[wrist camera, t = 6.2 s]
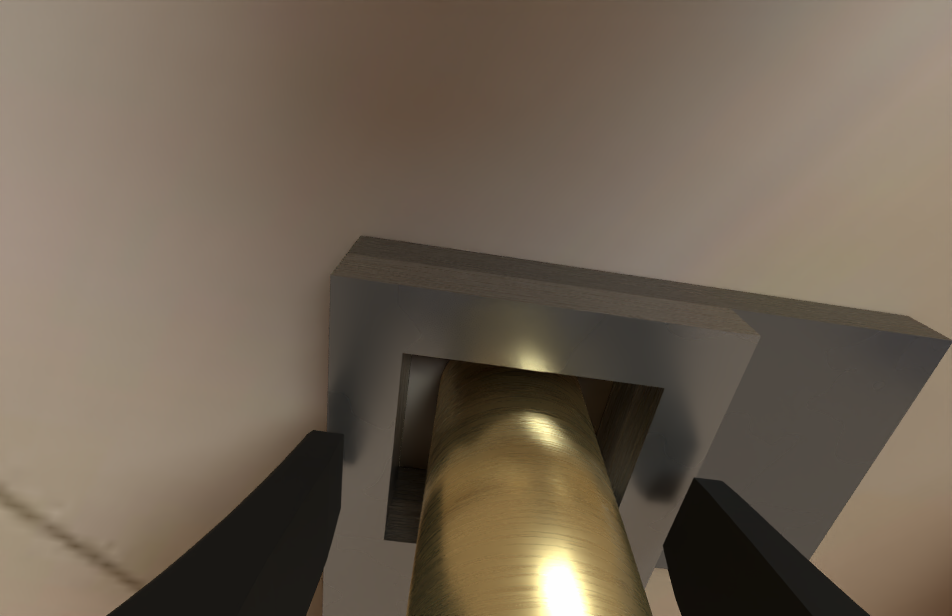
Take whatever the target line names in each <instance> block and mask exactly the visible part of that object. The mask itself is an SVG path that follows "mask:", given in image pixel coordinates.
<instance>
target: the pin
mask: <svg viewBox="0 0 952 616" xmlns="http://www.w3.org/2000/svg"><path fill="white" fill-rule="evenodd" d="M406 616H652V613H651V609H650V606H649V603H648V600H647V597H646V594H645V590H644V587H643V584H642V581H641V578H640V575H639V571H638V568H637V565H636V562H635V559H634V556H633V553H632V549H631V546H630V543H629V540H628V537H627V534H626V530H625V527H624V524H623V521H622V518H621V515H620V512H619V508H618V505H617V502H616V499H615V496H614V493H613V489H612V486H611V483H610V480H609V477H608V474H607V470H606V467H605V464H604V461H603V458H602V455H601V452H600V448H599V445H598V442H597V439H596V436H595V433H594V429H593V426H592V423H591V420H590V417H589V414H588V410H587V407H586V404H585V401H584V398H583V395H582V392H581V388H580V385H579V382H578V379H577V376H571V375H564V374H556V373H549V372H541V371H534V370H526V369H519V368H512V367H504V366H497V365H489V364H482V363H474V362H467V361H459V360H452V359H450V361H449V362H448V364H447V365H446V367H445V369H444V371H443V374H442V376H441V381H440V386H439V393H438V399H437V406H436V413H435V420H434V427H433V434H432V441H431V447H430V454H429V461H428V468H427V475H426V482H425V489H424V495H423V502H422V509H421V516H420V523H419V530H418V537H417V543H416V550H415V557H414V564H413V571H412V578H411V584H410V591H409V598H408V605H407V612H406Z"/></svg>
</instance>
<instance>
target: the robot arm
mask: <svg viewBox="0 0 952 616" xmlns="http://www.w3.org/2000/svg"><path fill="white" fill-rule="evenodd" d="M343 450H344V434H340V433H332V432H324V431H316V430H313V431H311V432H310V433H308V434H307V435H306V436H305V437H304V439H303V440H302V441H301V442H300V443H299V444H298V445H297V446H296V447H295V449H294V450H293V451H292V452H291V453H290V454H289V455H288V456H287V457H286V458H285V459H284V460H283V461H282V462H281V464H280V465H279V466H278V467H277V468H276V469H275V470H274V471H273V472H272V473H271V474H270V475H269V476H268V477H267V478H266V479H265V480H264V481H263V482H262V483H261V484H260V485H259V486H258V487H257V488H256V489H255V490H254V491H253V492H252V493H251V494H250V495H249V496H248V497H246V498H245V499H244V500H243V501H242V502H241V503H240V504H239V505H238V506H237V507H236V508H235V509H234V510H233V511H232V512H231V513H230V514H229V515H228V516H227V517H226V518H224V519H223V520H222V521H221V522H220V523H219V524H218V525H217V526H215V527H214V528H213V529H212V530H211V531H210V532H209V533H207V534H206V535H205V536H204V537H203V538H202V539H201V540H200V541H198V542H197V543H196V544H195V545H194V546H193V547H192V548H191V549H189V550H188V551H187V552H186V553H185V554H184V555H182V556H181V557H180V558H179V559H178V560H176V561H175V562H174V563H173V564H172V565H170V566H169V567H168V568H167V569H166V570H164V571H163V572H162V573H161V574H159V575H158V576H157V577H156V578H155V579H153V580H152V581H151V582H150V583H148V584H147V585H146V586H144V587H143V588H142V589H141V590H139V591H138V592H137V593H135V594H134V595H133V596H132V597H130V598H129V599H128V600H126V601H125V602H124V603H123V604H121V605H120V606H119V607H117V608H116V609H115V610H113V611H112V612H111V613H109V614H108V615H106V616H306V614H307V611H308V609H309V606H310V603H311V601H312V598H313V596H314V593H315V590H316V588H317V585H318V582H319V580H320V577H321V575H322V572H323V569H324V567H325V564H326V561H327V558H328V555H329V551H330V547H331V544H332V540H333V537H334V533H335V529H336V525H337V521H338V518H339V514H340V510H341V496H342V473H343ZM663 549H664V554H665V558H666V563H667V567H668V571H669V576H670V579H671V583H672V587H673V591H674V595H675V598H676V601H677V604H678V607H679V610H680V612H681V615H682V616H870V615H869V614H868V613H867V612H866V611H864V610H863V609H862V608H861V607H860V606H859V605H857V604H856V603H855V602H854V601H853V600H852V599H851V598H850V597H848V596H847V595H846V594H845V593H844V592H843V591H842V590H841V589H840V588H838V587H837V586H836V585H835V584H834V583H833V582H832V581H831V580H830V579H828V578H827V577H826V576H825V575H824V574H823V573H822V572H821V571H820V570H819V569H817V568H816V567H815V566H814V565H813V564H812V563H811V562H810V561H809V560H808V559H807V558H806V557H805V556H803V555H802V554H801V553H800V552H799V551H798V550H797V549H796V548H795V547H794V546H793V545H792V544H791V543H790V542H788V541H787V540H786V539H785V538H784V537H783V536H782V535H781V534H780V533H779V532H778V531H777V530H776V529H775V528H774V527H773V526H771V525H770V524H769V523H768V522H767V521H766V520H765V519H764V518H763V517H762V516H761V515H760V514H759V513H758V512H757V511H756V510H754V509H753V508H752V507H751V506H750V505H749V504H748V503H747V502H746V501H745V500H744V499H743V498H741V497H740V496H739V495H738V494H737V493H736V492H735V491H734V490H732V489H731V488H730V487H729V486H728V485H727V484H725V483H724V482H723V481H720V480H712V479H704V478H696V477H694V478H693V480H692V482H691V484H690V487H689V489H688V491H687V493H686V495H685V497H684V500H683V502H682V504H681V506H680V508H679V511H678V513H677V515H676V517H675V519H674V522H673V524H672V526H671V528H670V530H669V532H668V535H667V537H666V539H665V541H664V543H663Z"/></svg>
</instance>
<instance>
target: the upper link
mask: <svg viewBox="0 0 952 616" xmlns="http://www.w3.org/2000/svg"><path fill="white" fill-rule="evenodd" d="M760 337H761V336H760V335H759V334H758V333H757V332H756V331H755V330H754V329H753V328H751V327H750V326H749V325H748V324H747V323H746V322H745V321H744V320H743V319H742V318H741V317H739V316H738V315H737V314H736V313H735V312H734V311H733V310H732V309H730V308H723V307H716V306H709V305H702V304H695V303H688V302H681V301H674V300H668V299H661V298H654V297H647V296H640V295H633V294H626V293H619V292H612V291H605V290H599V289H592V288H585V287H578V286H571V285H564V284H557V283H550V282H543V281H536V280H530V279H523V278H516V277H509V276H502V275H495V274H488V273H481V272H474V271H467V270H461V269H454V268H447V267H440V266H433V265H426V264H419V263H412V262H405V261H398V260H392V259H385V258H378V257H371V256H364V255H357V254H350V253H347V254H346V256H345V257H344V258H343V260H342V261H341V262H340V263H339V265H338V266H337V267H336V269H335V270H334V271H333V273H332V274H331V280H330V322H329V364H328V405H327V432H332V433H340V434H344V450H343V473H342V496H341V510H340V514H339V518H338V521H337V525H336V529H335V533H334V537H333V540H332V544H331V547H330V551H329V555H328V558H327V561H326V564H325V567H324V572H323V614H322V616H406V612H407V605H408V598H409V591H410V584H411V578H412V571H413V564H414V557H415V550H416V543H417V537H418V530H419V523H420V516H421V509H422V504H420V503H411V502H403V501H394V500H392V498H393V488H394V479H395V469H396V459H397V450H398V440H399V431H400V421H401V412H402V402H403V393H404V383H405V374H406V364H407V355H408V354H415V355H422V356H430V357H437V358H444V359H452V360H459V361H467V362H474V363H482V364H489V365H497V366H504V367H512V368H519V369H526V370H534V371H541V372H549V373H556V374H564V375H571V376H579V377H586V378H594V379H601V380H608V381H616V382H623V383H631V384H636V387H635V389H634V392H633V395H632V398H631V401H630V404H629V407H628V409H627V412H626V415H625V418H624V421H623V424H622V426H621V429H620V432H619V435H618V438H617V441H616V444H615V446H614V449H613V452H612V455H611V458H610V461H609V463H608V466H607V469H606V470H607V474H608V477H609V480H610V483H611V486H612V489H613V493H614V496H615V499H616V502H617V505H618V508H619V512H620V515H621V518H622V521H623V524H624V527H625V530H626V534H627V537H628V540H629V543H630V546H631V549H632V553H633V556H634V559H635V562H636V565H637V568H638V571H639V575H640V578H641V581H642V584H643V587H644V589H645V587H646V585H647V582H648V580H649V578H650V576H651V574H652V572H653V569H654V567H655V565H656V563H657V561H658V559H659V556H660V554H661V552H662V550H663V543H664V541H665V539H666V537H667V535H668V532H669V530H670V528H671V526H672V524H673V522H674V519H675V517H676V515H677V513H678V511H679V508H680V506H681V504H682V502H683V500H684V497H685V495H686V493H687V491H688V489H689V487H690V484H691V482H692V480H693V478H694V477H696V476H697V474H698V472H699V470H700V467H701V465H702V463H703V461H704V459H705V457H706V454H707V452H708V450H709V448H710V446H711V444H712V441H713V439H714V437H715V435H716V433H717V431H718V428H719V426H720V424H721V422H722V420H723V418H724V415H725V413H726V411H727V409H728V407H729V404H730V402H731V400H732V398H733V396H734V394H735V391H736V389H737V387H738V385H739V383H740V381H741V378H742V376H743V374H744V372H745V370H746V368H747V365H748V363H749V361H750V359H751V357H752V355H753V352H754V350H755V348H756V346H757V344H758V342H759V339H760Z"/></svg>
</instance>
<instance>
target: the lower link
mask: <svg viewBox="0 0 952 616" xmlns="http://www.w3.org/2000/svg"><path fill="white" fill-rule="evenodd" d="M348 253H350V254H357V255H364V256H371V257H378V258H385V259H392V260H398V261H405V262H412V263H419V264H426V265H433V266H440V267H447V268H454V269H461V270H467V271H474V272H481V273H488V274H495V275H502V276H509V277H516V278H523V279H530V280H536V281H543V282H550V283H557V284H564V285H571V286H578V287H585V288H592V289H599V290H605V291H612V292H619V293H626V294H633V295H640V296H647V297H654V298H661V299H668V300H674V301H681V302H688V303H695V304H702V305H709V306H716V307H723V308H730V309H732V310H733V311H734V312H735V313H736V314H737V315H738V316H739V317H741V318H742V319H743V320H744V321H745V322H746V323H747V324H748V325H749V326H750V327H751V328H753V329H754V330H755V331H756V332H757V333H758V334H759V335H760V336H761V337H760V339H759V342H758V344H757V346H756V348H755V350H754V352H753V355H752V357H751V359H750V361H749V363H748V365H747V368H746V370H745V372H744V374H743V376H742V378H741V381H740V383H739V385H738V387H737V389H736V391H735V394H734V396H733V398H732V400H731V402H730V404H729V407H728V409H727V411H726V413H725V415H724V418H723V420H722V422H721V424H720V426H719V428H718V431H717V433H716V435H715V437H714V439H713V441H712V444H711V446H710V448H709V450H708V452H707V454H706V457H705V459H704V461H703V463H702V465H701V467H700V470H699V472H698V474H697V476H696V478H704V479H712V480H720V481H723V482H724V483H725V484H727V485H728V486H729V487H730V488H731V489H732V490H734V491H735V492H736V493H737V494H738V495H739V496H740V497H741V498H743V499H744V500H745V501H746V502H747V503H748V504H749V505H750V506H751V507H752V508H753V509H754V510H756V511H757V512H758V513H759V514H760V515H761V516H762V517H763V518H764V519H765V520H766V521H767V522H768V523H769V524H770V525H771V526H773V527H774V528H775V529H776V530H777V531H778V532H779V533H780V534H781V535H782V536H783V537H784V538H785V539H786V540H787V541H788V542H790V543H791V544H792V545H793V546H794V547H795V548H796V549H797V550H798V551H799V552H800V553H801V554H802V555H803V556H805V557H806V558H807V559H808V560H809V559H810V558H811V556H812V555H813V553H814V552H815V550H816V549H817V547H818V546H819V544H820V543H821V541H822V540H823V538H824V537H825V535H826V534H827V532H828V531H829V529H830V528H831V526H832V525H833V523H834V521H835V520H836V518H837V517H838V515H839V514H840V512H841V511H842V509H843V508H844V506H845V505H846V503H847V502H848V500H849V499H850V497H851V496H852V494H853V493H854V491H855V490H856V488H857V487H858V485H859V484H860V482H861V480H862V479H863V477H864V476H865V474H866V473H867V471H868V470H869V468H870V467H871V465H872V464H873V462H874V461H875V459H876V458H877V456H878V455H879V453H880V452H881V450H882V449H883V447H884V446H885V444H886V442H887V441H888V439H889V438H890V436H891V435H892V433H893V432H894V430H895V429H896V427H897V426H898V424H899V423H900V421H901V420H902V418H903V417H904V415H905V414H906V412H907V411H908V409H909V408H910V406H911V405H912V403H913V401H914V400H915V398H916V397H917V395H918V394H919V392H920V391H921V389H922V388H923V386H924V385H925V383H926V382H927V380H928V379H929V377H930V376H931V374H932V373H933V371H934V370H935V368H936V367H937V365H938V364H939V362H940V360H941V359H942V357H943V356H944V354H945V353H946V351H947V350H948V348H949V347H950V345H951V344H952V340H951V339H949V338H947V337H945V336H944V335H942V334H940V333H938V332H936V331H934V330H933V329H931V328H929V327H927V326H925V325H924V324H922V323H920V322H918V321H916V320H914V319H913V318H911V317H909V316H903V315H896V314H890V313H883V312H876V311H869V310H863V309H856V308H849V307H842V306H835V305H829V304H822V303H815V302H808V301H801V300H795V299H788V298H781V297H774V296H767V295H761V294H754V293H747V292H740V291H733V290H727V289H720V288H713V287H706V286H699V285H693V284H686V283H679V282H672V281H666V280H659V279H652V278H645V277H638V276H632V275H625V274H618V273H611V272H604V271H598V270H591V269H584V268H577V267H570V266H564V265H557V264H550V263H543V262H536V261H530V260H523V259H516V258H509V257H502V256H496V255H489V254H482V253H475V252H468V251H462V250H455V249H448V248H441V247H435V246H428V245H421V244H414V243H407V242H401V241H394V240H387V239H380V238H373V237H367V236H360V238H359V239H358V240H357V241H356V243H355V244H354V245H353V247H352V248H351V249H350V251H349V252H348ZM411 355H412V354H408V355H407V364H406V374H405V383H404V393H403V402H402V412H401V421H400V431H399V440H398V450H397V459H396V469H395V479H394V488H393V498H392V500H394V501H403V502H411V503H420V504H422V502H423V495H424V489H425V482H426V475H427V470H422V469H413V468H405V467H399V465H400V455H401V446H402V437H403V428H404V419H405V410H406V400H407V391H408V382H409V373H410V364H411ZM635 387H636V384H631V383H623V382H616V381H614V384H613V387H612V390H611V393H610V396H609V399H608V402H607V405H606V408H605V411H604V414H603V417H602V420H601V423H600V426H599V429H598V432H597V435H596V439H597V442H598V445H599V448H600V452H601V455H602V458H603V461H604V464H605V467H606V469H607V466H608V463H609V461H610V458H611V455H612V452H613V449H614V446H615V444H616V441H617V438H618V435H619V432H620V429H621V426H622V424H623V421H624V418H625V415H626V412H627V409H628V407H629V404H630V401H631V398H632V395H633V392H634V389H635ZM655 568H664V569H668V567H667V563H666V558H665V554H664V549H663V550H662V552H661V554H660V556H659V559H658V561H657V563H656V565H655Z"/></svg>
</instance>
